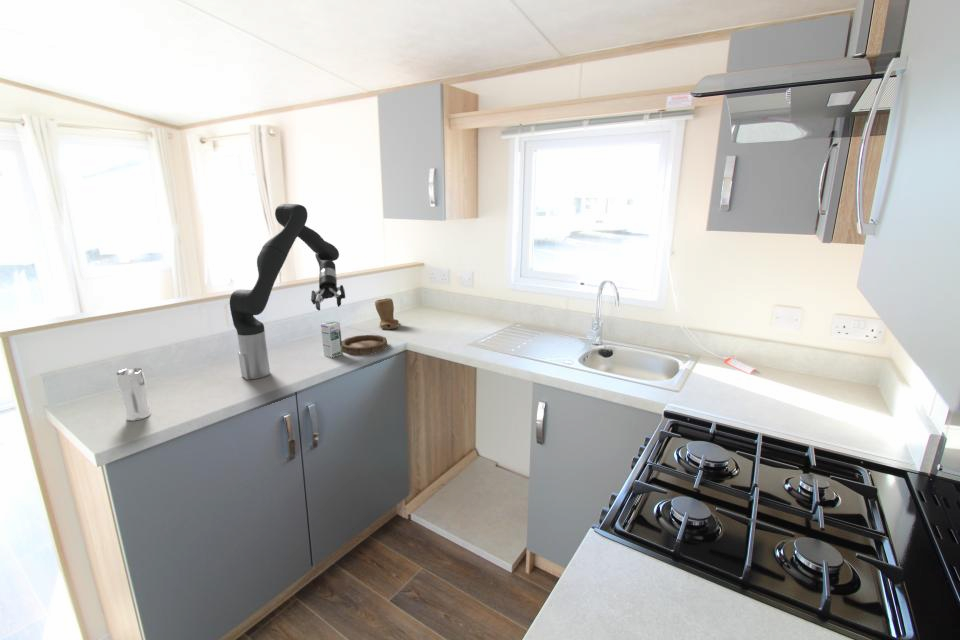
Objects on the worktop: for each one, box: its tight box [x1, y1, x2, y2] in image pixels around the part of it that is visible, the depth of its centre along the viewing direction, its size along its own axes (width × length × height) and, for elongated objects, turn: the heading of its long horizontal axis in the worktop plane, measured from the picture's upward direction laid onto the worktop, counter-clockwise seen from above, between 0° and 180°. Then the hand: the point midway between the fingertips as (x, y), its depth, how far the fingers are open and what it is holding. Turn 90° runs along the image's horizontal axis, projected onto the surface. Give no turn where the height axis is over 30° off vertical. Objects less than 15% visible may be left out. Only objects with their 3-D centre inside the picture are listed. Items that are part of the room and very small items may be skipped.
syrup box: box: [320, 320, 344, 359], centre depth 195 cm, size 6×6×14 cm
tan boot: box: [374, 297, 399, 330], centre depth 239 cm, size 15×12×15 cm
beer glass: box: [115, 367, 152, 422], centre depth 140 cm, size 7×7×15 cm
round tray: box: [341, 334, 388, 356], centre depth 206 cm, size 20×20×3 cm
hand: (328, 307), depth 196 cm, fingers open, 8 cm apart
